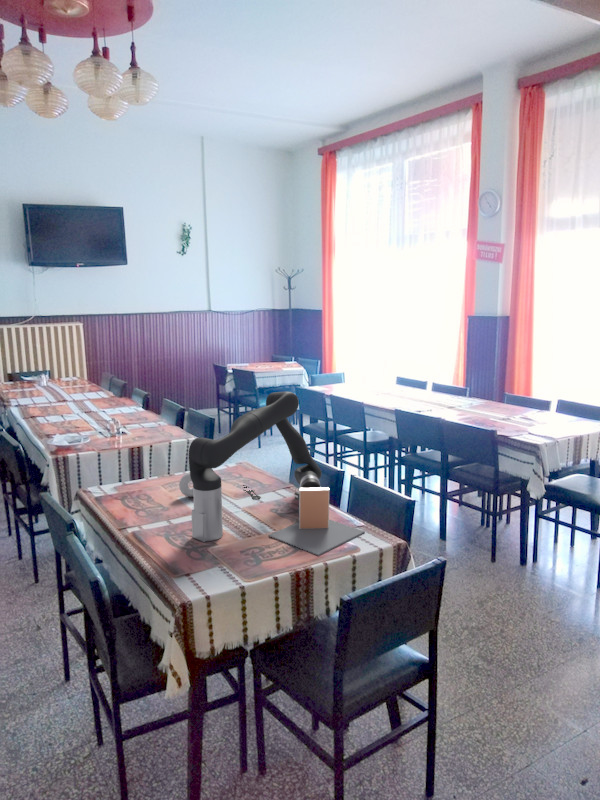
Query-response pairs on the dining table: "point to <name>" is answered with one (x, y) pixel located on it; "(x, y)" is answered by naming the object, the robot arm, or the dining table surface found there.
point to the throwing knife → (252, 494)
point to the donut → (186, 485)
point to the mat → (317, 537)
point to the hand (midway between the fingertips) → (313, 503)
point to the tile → (313, 508)
